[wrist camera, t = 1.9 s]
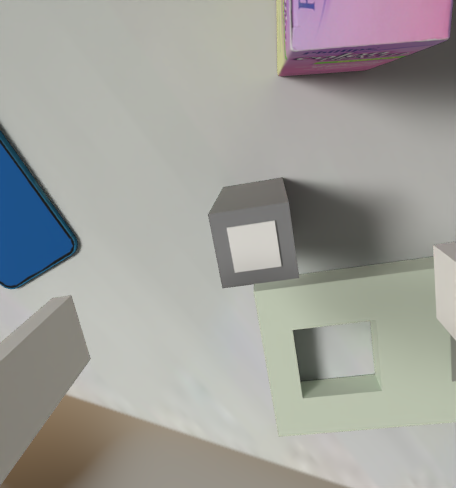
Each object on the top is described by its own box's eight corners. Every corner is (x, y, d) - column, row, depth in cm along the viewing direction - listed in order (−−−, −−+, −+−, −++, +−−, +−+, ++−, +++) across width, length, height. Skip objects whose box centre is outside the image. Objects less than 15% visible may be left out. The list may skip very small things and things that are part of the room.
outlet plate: (254, 280, 30) (253, 292, 28) (555, 240, 28) (579, 250, 26) (278, 418, 34) (278, 438, 31) (548, 394, 31) (568, 414, 29)
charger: (223, 187, 28) (207, 215, 21) (282, 177, 28) (288, 202, 20) (233, 242, 30) (222, 288, 22) (290, 234, 29) (299, 279, 21)
